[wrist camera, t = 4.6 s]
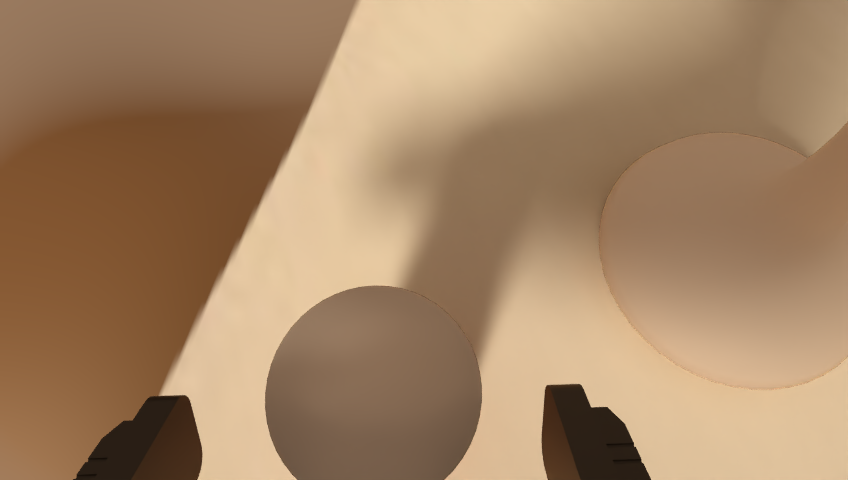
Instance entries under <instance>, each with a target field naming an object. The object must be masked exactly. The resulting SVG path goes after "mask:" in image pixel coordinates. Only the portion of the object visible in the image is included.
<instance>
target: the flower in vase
mask: <svg viewBox="0 0 848 480" xmlns="http://www.w3.org/2000/svg"><path fill="white" fill-rule="evenodd" d="M599 249H600V259H601V263H602V267H603V272H604V276H605V278H606V281H607V284H608V286H609V289H610V291H611V294H612V295H613V297H614V299H615V301H616V303H617V305H618V307H619V308H620V310H621V311H622V313H623V314H624V316H625V317H626V319H627V320H628V321H629V323H630V324H631V325H632V327H633V328H634V329H635V330H636V331H637V332H638V333H639V334H640V335H641V337H642V338H643V339H644V340H645V341H646V342H648V343H649V344H650V345H651V346H652V347H653V348H654V349H655V350H657V351H658V352H659V353H660V354H662V355H663V356H665V357H666V358H667V359H669V360H670V361H672V362H673V363H675V364H676V365H678V366H680V367H682V368H683V369H685V370H687V371H689V372H691V373H693V374H695V375H697V376H700V377H702V378H705V379H707V380H710V381H712V382H716V383H720V384H723V385H727V386H731V387H737V388H744V389H751V390H774V389H782V388H790V387H793V386H797V385H801V384H804V383H808V382H810V381H812V380H814V379H817V378H819V377H821V376H823V375H825V374H826V373H828V372H829V371H831V370H833V369H834V368H836V367H837V366H838V365H840V364H841V363H842V362H843V361H844V360H845V359H846V358H847V357H848V122H847V123H846V124H845V125H844V126H843V128H842V129H841V130H840V131H839V132H838V133H837V134H836V135H835V136H834V137H833V138H832V139H830V140H829V141H828V142H827V143H826V144H825V145H824V146H822V147H821V148H820V149H819V150H818V151H817V152H816V153H814V154H813V155H811V156H810V157H809V158H806V157H805V156H803V155H801V154H799V153H798V152H796V151H794V150H792V149H789V148H787V147H785V146H783V145H780V144H778V143H775V142H772V141H769V140H766V139H763V138H759V137H755V136H750V135H746V134H737V133H704V134H696V135H692V136H688V137H684V138H681V139H678V140H675V141H673V142H670V143H667V144H665V145H662V146H659V147H657V148H655V149H654V150H652V151H650V152H648V153H646V154H645V155H643V156H642V157H640V158H639V159H638V160H636V161H635V162H634V163H633V164H632V165H631V166H630V167H629V168H628V169H627V170H626V171H625V172H624V173H623V174H622V175H621V176H620V178H619V179H618V180H617V182H616V183H615V184H614V186H613V188H612V190H611V192H610V194H609V196H608V197H607V200H606V203H605V206H604V209H603V212H602V216H601V222H600V227H599Z"/></svg>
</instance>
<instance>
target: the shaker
mask: <svg viewBox="0 0 848 480" xmlns="http://www.w3.org/2000/svg"><path fill="white" fill-rule="evenodd" d="M481 403H482V385H481V377H480V371H479V367H478V363H477V359H476V356H475V354H474V351H473V349H472V346H471V344H470V342H469V341H468V339H467V337H466V335H465V333H464V332H463V331H462V329H461V328H460V327H459V325H458V324H457V323H456V321H455V320H454V319H453V318H452V317H451V316H450V315H449V314H448V313H447V312H446V311H444V310H443V309H442V308H441V307H439V306H438V305H437V304H435V303H434V302H432V301H430V300H429V299H427V298H425V297H423V296H421V295H419V294H417V293H414V292H412V291H408V290H405V289H401V288H396V287H390V286H365V287H358V288H353V289H349V290H346V291H343V292H340V293H337V294H335V295H333V296H331V297H329V298H327V299H325V300H323V301H321V302H320V303H318V304H317V305H315V306H314V307H312V308H311V309H310V310H309V311H307V312H306V313H305V314H304V315H303V316H302V317H300V319H299V320H298V321H297V322H296V323H295V324H294V325H293V326H292V327H291V329H290V330H289V331H288V333H287V334H286V336H285V337H284V338H283V340H282V342H281V344H280V346H279V347H278V349H277V351H276V354H275V356H274V359H273V361H272V364H271V367H270V371H269V374H268V378H267V385H266V392H265V410H266V418H267V424H268V428H269V432H270V436H271V439H272V441H273V444H274V446H275V449H276V451H277V453H278V454H279V456H280V458H281V460H282V461H283V463H284V464H285V466H286V467H287V468H288V470H289V471H290V472H291V474H292V475H293V476H294V477H295V478H296V479H297V480H444V479H445V478H446V477H447V476H448V475H449V474H450V473H451V472H452V471H453V470H454V469H455V468H456V466H457V465H458V464H459V462H460V461H461V460H462V458H463V457H464V455H465V453H466V451H467V450H468V448H469V446H470V444H471V442H472V439H473V437H474V434H475V432H476V429H477V425H478V421H479V417H480V411H481Z"/></svg>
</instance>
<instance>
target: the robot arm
mask: <svg viewBox="0 0 848 480" xmlns="http://www.w3.org/2000/svg"><path fill="white" fill-rule="evenodd" d="M542 454H543V461H544V467H545V471H546V474H547V478H548V480H651V478H650V476H649V474H648V472H647V470H646V468H645V466H644V464H643V463H642V462H641V457H640V455H639V453H638V451H637V449H636V447H634V442H633V440H632V438H631V436H630V434H629V432H628V430H627V428H626V426H625V424H624V423H623V422H622V421H621V420H620V419H619V418H618V417H617V416H616V415H615V414H614V413H613V412H612V411H611V410H610V409H609V408H608V407H593V408H591V406H590V404H589V401H588V399H587V397H586V394H585V392H584V389H583V387H582V386H581V385H580V384H565V385H547V386H546V389H545V398H544V412H543V426H542ZM201 465H202V446H201V442H200V438H199V434H198V430H197V426H196V422H195V418H194V414H193V411H192V407H191V403H190V400H189V398H188V397H187V396H185V395H177V396H152V397H149V398H148V399H147V400H146V401H145V403H144V404H143V406H142V407H141V409H140V410H139V412H138V413H137V415H136V416H135V418H134V419H133V421H123V422H122V423H121V424H119V425H118V426H117V427H116V428H114V429H113V430H112V431H111V432H109V434H107V435H106V436H105V437H103V438H102V439H101V441H100V442H99V444H98V445H97V447H96V448H95V449H94V451H93V452H92V454H91V455H90V456H89V458H88V462H85V464H84V465H83V466H82V468H81V469H80V471H79V472H78V474H77V478H76V479H73V480H197V479H198V476H199V473H200V470H201Z"/></svg>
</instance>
